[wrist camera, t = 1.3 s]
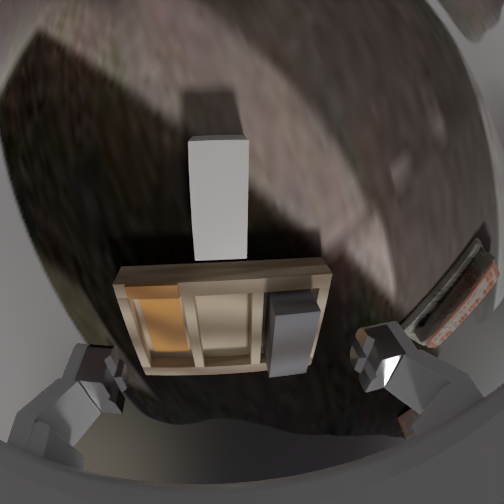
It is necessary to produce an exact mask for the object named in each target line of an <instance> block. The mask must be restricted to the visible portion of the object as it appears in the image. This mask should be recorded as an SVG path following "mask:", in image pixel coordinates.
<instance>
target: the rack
mask: <svg viewBox="0 0 504 504" xmlns="http://www.w3.org/2000/svg"><path fill="white" fill-rule="evenodd" d="M331 278H332V272H331V271H330V269H329V268H328V266H327V265H326V263H325V261H324V260H323V258H322V257H312V258H293V259H275V260H255V261H235V262H214V263H193V264H170V265H147V266H122V267H121V268H120V270H119V272H118V274H117V276H116V279H115V281H114V283H113V287H114V290H115V294H116V297H117V300H118V303H119V306H120V309H121V312H122V315H123V318H124V321H125V324H126V326H127V329H128V332H129V335H130V337H131V340H132V342H133V345H134V348H135V350H136V353H137V355H138V357H139V360H140V362H141V365H142V367H143V369H144V372H145V374H146V375H208V374H228V373H243V372H255V371H265V370H268V374H269V377H277V376H285V375H293V374H300V373H306V370H307V366H308V365H311V362H312V358H313V354H314V350H315V347H316V343H317V339H318V335H319V331H320V327H321V323H322V319H323V314H324V310H325V306H326V301H327V297H328V292H329V287H330V283H331Z"/></svg>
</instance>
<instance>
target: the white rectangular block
mask: <svg viewBox="0 0 504 504" xmlns="http://www.w3.org/2000/svg"><path fill="white" fill-rule="evenodd" d="M188 159H189V182H190V201H191V216H192V230H193V243H194V254H195V261H202V260H225V259H247V222H248V169H249V139H248V138H247V137H245V136H244V135H205V136H192V137H191V138H190V140H189V141H188Z"/></svg>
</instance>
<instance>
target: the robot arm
mask: <svg viewBox="0 0 504 504" xmlns="http://www.w3.org/2000/svg"><path fill="white" fill-rule="evenodd" d="M355 337H356V339H357V341H356V342H355V343H354V344H353V345H352V348H351V351H350V359H351V363H352V366H353V368H354V370H356V371H358V372H359V373H360V376H359V380H360V382H361V384H362V386H363V388H364V391H365V392H369V391H373V390H377V389H380V388H384V387H385V389H387V390H388V391H389V392H391V393H392V394H393V395H394V396H396V397H397V398H398V399H400V400H401V401H402V402H404V403H405V404H406V405H408V406H409V407H410V408H412V409H413V410H414V411H416V412H417V413H418V414H420V415H419V416H418V418H417V419H416V420H415V421H414V422H413V424H412V428H413V430H414V432H415V434H416V437H414V438H412V439H410V440H407V441H405V442H403V443H400V444H398V445H396V446H393V447H391V448H388V449H386V450H383V451H381V452H378V453H375V454H372V455H370V456H367V457H364V458H361V459H358V460H354V461H351V462H348V463H345V464H342V465H338V466H334V467H331V468H326V469H322V470H319V471H314V472H309V473H305V474H300V475H295V476H289V477H283V478H277V479H270V480H262V481H254V482H243V483H229V484H171V483H156V482H147V481H138V480H131V479H124V478H118V477H113V476H107V475H102V474H98V473H93V472H88V471H84V470H83V466H84V459H85V458H84V457H83V455H82V454H81V453H79V452H78V451H77V450H76V449H75V448H74V447H73V446H74V445H75V444H76V443H77V442H78V440H79V439H80V438H81V437H82V435H83V434H84V433H85V432H86V431H87V429H88V428H89V427H90V426H91V424H92V423H93V422H94V421H95V420H96V418H97V417H98V416H99V415H100V414H101V412H107V413H120V414H122V413H123V406H124V401H125V397H124V395H123V394H122V392H123V391H124V390H125V389H126V388H127V385H128V371H127V367H126V364H125V362H123V361H122V360H121V359H119V358H120V354H121V353H120V351H119V349H118V347H116V346H105V345H92V344H79V343H78V344H77V345H76V346H75V347H74V349H73V351H72V354H71V356H70V359H69V361H68V363H67V366H66V369H65V371H64V374H63V377H62V379H60V378H58V379H57V380H56V381H54V382H53V383H52V384H51V385H50V386H49V387H47V388H46V389H45V390H44V391H42V392H41V393H40V394H39V395H38V396H37V397H35V398H34V399H33V400H32V401H31V402H29V403H28V404H27V405H26V406H25V407H23V408H22V409H21V410H20V411H19V412H18V413H17V414H16V417H15V420H14V423H13V426H12V429H11V432H10V435H9V439H8V442H7V443H5V442H3V441H1V440H0V504H504V383H503V384H502V385H501V386H500V387H498V388H497V389H496V390H494V391H493V392H491V393H490V394H489V395H487V396H486V397H483V396H482V394H481V393H480V391H479V390H478V388H477V387H476V385H475V384H474V382H473V381H472V379H471V378H470V376H469V375H468V374H467V373H465V372H463V371H461V370H459V369H457V368H455V367H454V366H452V365H450V364H448V363H446V362H444V361H442V360H440V359H438V358H436V357H434V356H433V355H431V354H429V353H427V352H425V351H423V350H417V348H416V347H415V345H414V344H413V343H412V341H411V340H410V338H409V337H408V336H407V334H406V333H405V331H404V330H403V329H402V327H401V326H400V325H399V323H398V322H396V321H393V322H388V323H384V324H378V325H374V326H369V327H364V328H360V329H359V330H358V331H357V333H356V336H355Z"/></svg>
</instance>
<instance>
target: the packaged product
mask: <svg viewBox="0 0 504 504" xmlns="http://www.w3.org/2000/svg"><path fill="white" fill-rule="evenodd" d="M498 277H499V272H498V269H497V265H496V262H495V258H494V257H493V256H492V255H491V254H490V253H488V252H486V251H485V249H484V247H483V245H482V243H481V241H480V240H479V239H478V238H475V239H474V240H473V241H472V243H471V244H470V246H469V247H468V248H467V250H466V251H465V252H464V254H463V255H462V256H461V257H460V259H459V260H458V261H457V262H456V264H455V265H454V266H453V267H452V268H451V270H450V271H449V272H448V273H447V274H446V276H445V277H444V278H443V279H442V280H441V282H440V283H439V284H438V285H437V286H436V287H435V288H434V290H433V291H432V292H431V293H430V294H429V295H428V296H427V297H426V299H425V300H424V301H423V302H422V303H421V304H420V305H419V306H418V307H417V308H416V309H415V311H414V312H413V313H412V314H411V315H410V316H409V317H408V318H407V319H406V320H405V321H404V322H403V323H402V324H401V325H400V326H401V327H402V329H403V330H404V331H405V333H406V334H407V336H408V337H409V338H410V339H413V340H414V341H416V342H418V343H419V344H421V345H423V346H425V345H426V346H427V347H429V348H431V347H433V348H435V347H437V346H438V345H439V344H440V343H441V342H443V341H444V340H445V339H446V338H447V337H448V336H449V335H450V334H451V333H452V332H453V331H454V330H455V329H456V328H457V327H458V326H459V324H460V323H461V322H462V321H463V320H464V319H465V318H466V317H467V316H468V315H469V313H470V312H471V311H472V310H473V309H474V308H475V307H476V306H477V305H478V303H479V302H480V301H481V300H482V298H483V297H484V296H485V295H486V294H487V292H488V291H489V290H490V289H491V287H492V286H493V285H494V283H495V282H496V281H497V279H498Z"/></svg>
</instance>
